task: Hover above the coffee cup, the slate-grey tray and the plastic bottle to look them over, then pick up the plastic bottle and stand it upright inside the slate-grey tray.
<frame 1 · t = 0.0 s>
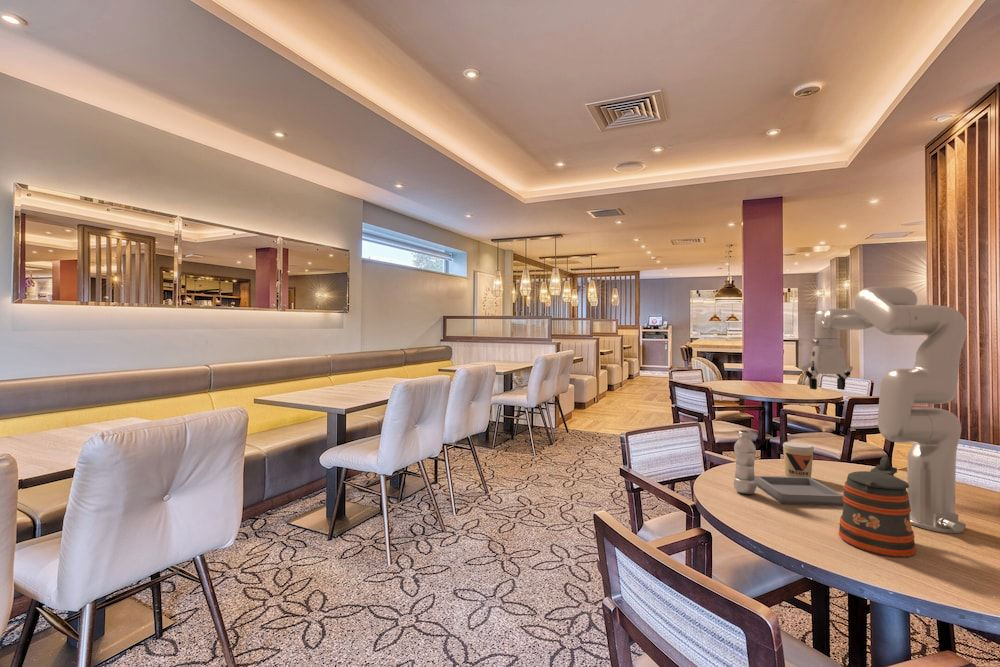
hand: (827, 389, 168), 31 cm above the table, tool pointing down, fingers open, 9 cm apart
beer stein: (876, 541, 113), on the table
tray: (796, 494, 145), on the table
coffee cup: (797, 478, 162), on the table
plastic bottle: (744, 493, 147), on the table
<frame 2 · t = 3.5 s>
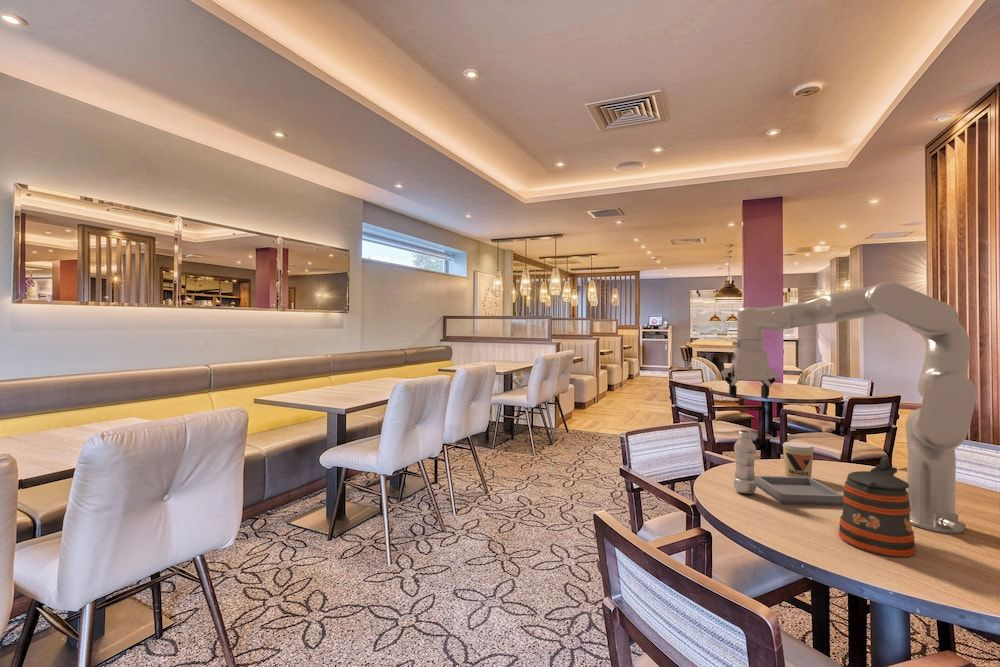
hand: (748, 397, 146), 31 cm above the table, tool pointing down, fingers open, 9 cm apart
nothing on the table moved.
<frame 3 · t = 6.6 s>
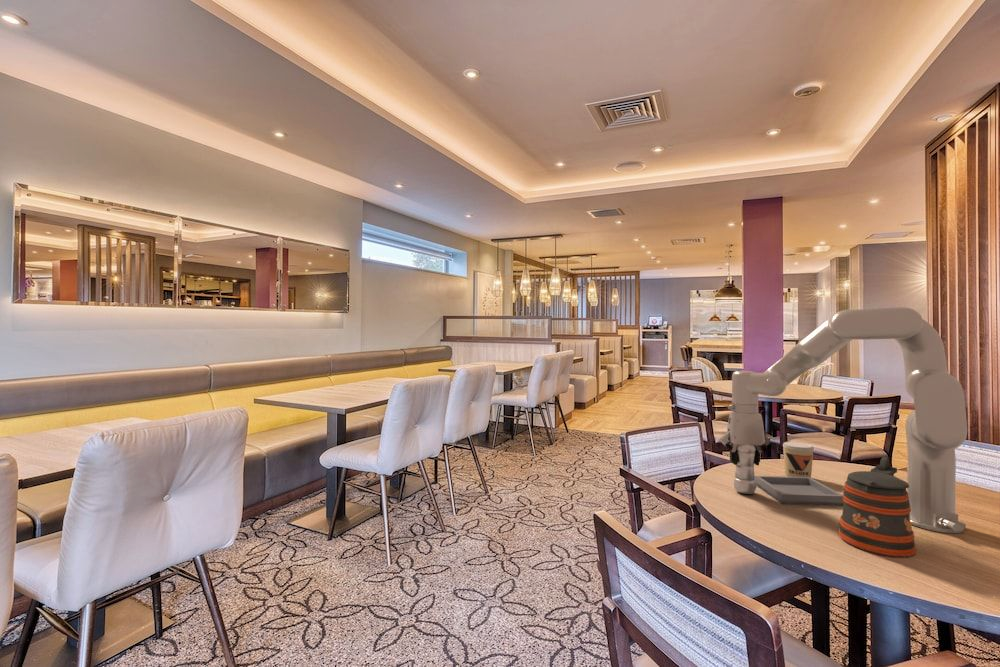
hand: (744, 463, 147), 10 cm above the table, tool pointing down, fingers closed on plastic bottle, 6 cm apart
plastic bottle: (744, 493, 147), on the table, touching gripper
everything else where it was.
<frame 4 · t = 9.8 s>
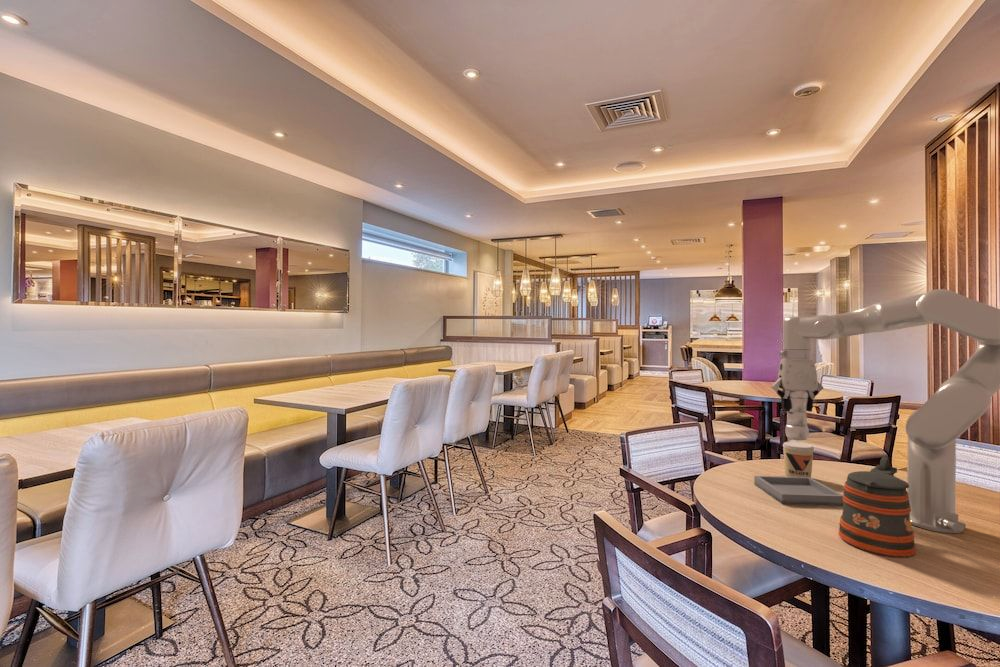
hand: (797, 410, 145), 27 cm above the table, tool pointing down, fingers closed on plastic bottle, 6 cm apart
plastic bottle: (797, 440, 145), point 17 cm above the table, touching gripper
everything else where it was.
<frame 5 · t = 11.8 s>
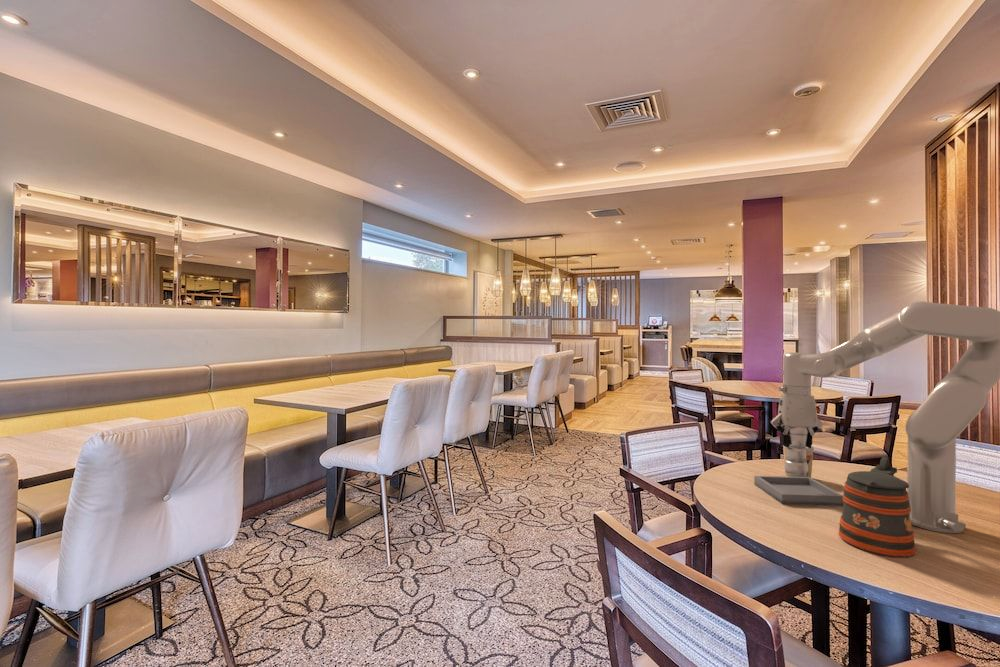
hand: (796, 446, 145), 16 cm above the table, tool pointing down, fingers closed on plastic bottle, 6 cm apart
plastic bottle: (795, 476, 145), point 6 cm above the table, touching gripper
everything else where it was.
when the fingers open (12 cm above the table, at t = 13.1 s): plastic bottle drops 1 cm, resting on tray.
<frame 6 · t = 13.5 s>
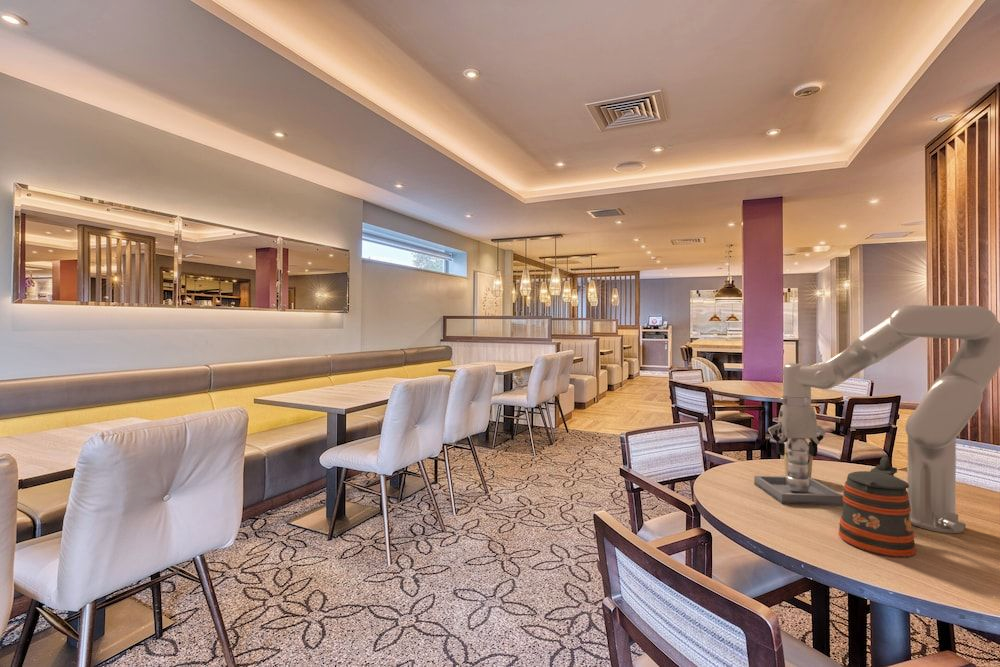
hand: (796, 455, 145), 13 cm above the table, tool pointing down, fingers open, 9 cm apart
plastic bottle: (797, 492, 145), point 1 cm above the table, touching tray
everything else where it was.
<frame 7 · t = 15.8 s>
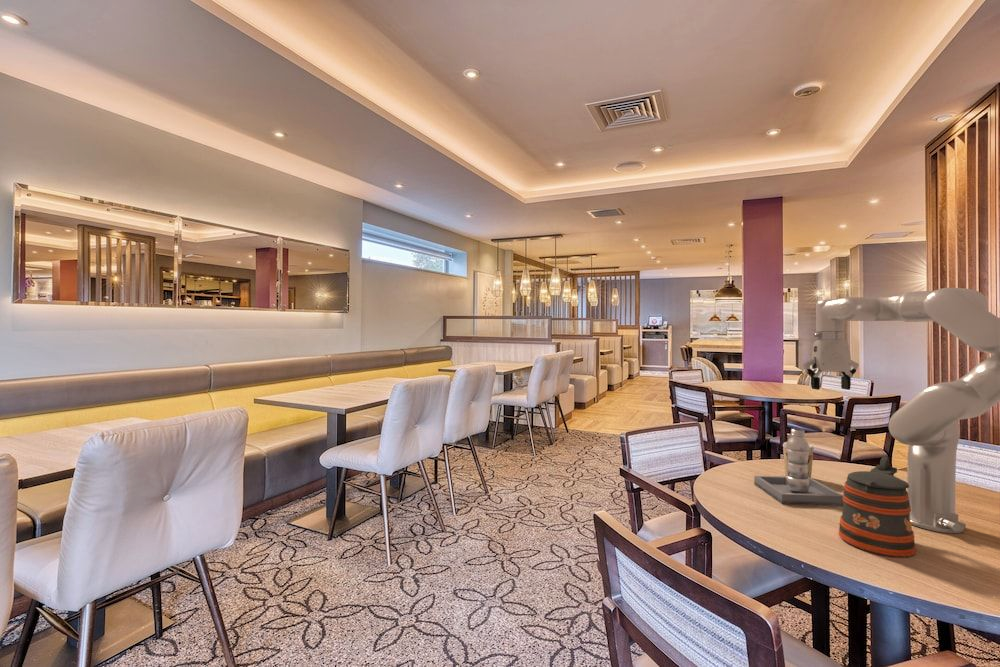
hand: (830, 389, 148), 34 cm above the table, tool pointing down, fingers open, 9 cm apart
nothing on the table moved.
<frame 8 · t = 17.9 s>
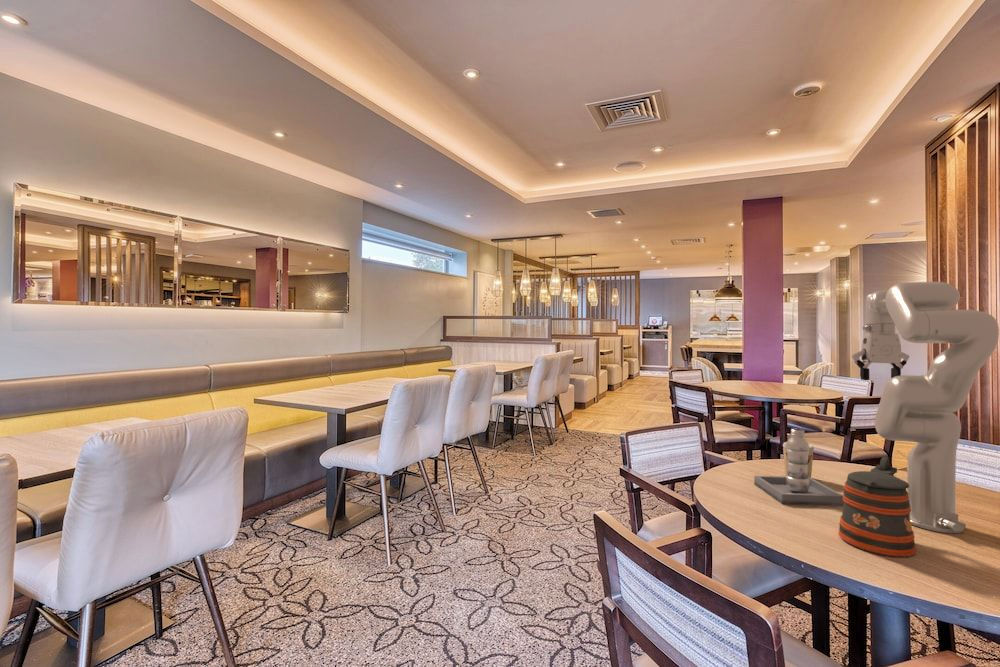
hand: (880, 380, 152), 36 cm above the table, tool pointing down, fingers open, 9 cm apart
nothing on the table moved.
at the end: plastic bottle inside the target area on the tray (0.2 cm from its centre), point 0.8 cm above the tray's base; plastic bottle tilted 0°; the gripper is holding nothing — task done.
